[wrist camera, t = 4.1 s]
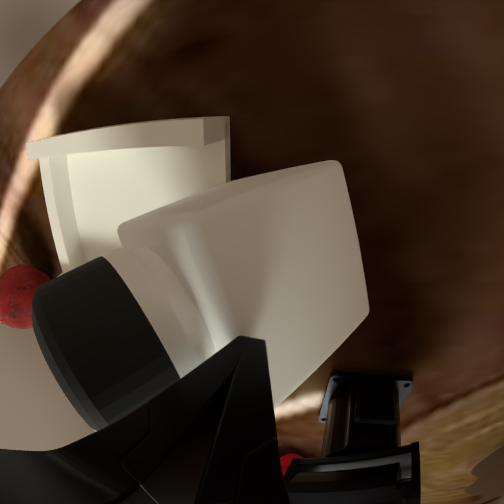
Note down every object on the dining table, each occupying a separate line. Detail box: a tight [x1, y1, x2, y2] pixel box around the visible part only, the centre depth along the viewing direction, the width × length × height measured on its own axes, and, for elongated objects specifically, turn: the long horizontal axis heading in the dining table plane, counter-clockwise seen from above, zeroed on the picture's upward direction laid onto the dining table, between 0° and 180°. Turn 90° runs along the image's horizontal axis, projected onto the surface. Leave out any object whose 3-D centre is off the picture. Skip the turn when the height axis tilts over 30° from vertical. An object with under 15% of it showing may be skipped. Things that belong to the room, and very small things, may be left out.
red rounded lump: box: [0, 265, 50, 329], centre depth 22 cm, size 6×6×8 cm
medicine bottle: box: [32, 160, 369, 432], centre depth 12 cm, size 7×7×12 cm
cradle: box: [26, 116, 231, 277], centre depth 18 cm, size 11×13×4 cm
